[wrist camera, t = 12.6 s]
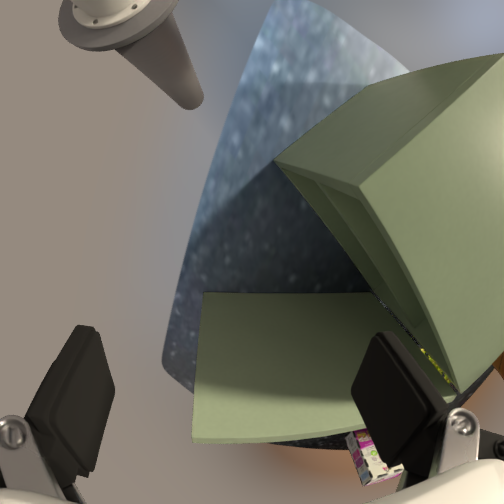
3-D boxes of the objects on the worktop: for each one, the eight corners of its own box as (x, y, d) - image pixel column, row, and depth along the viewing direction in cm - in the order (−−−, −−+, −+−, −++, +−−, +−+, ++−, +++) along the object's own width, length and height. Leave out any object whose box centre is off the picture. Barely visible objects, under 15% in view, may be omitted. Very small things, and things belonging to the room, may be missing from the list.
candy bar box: (343, 438, 60) (361, 487, 45) (351, 428, 59) (371, 478, 43) (377, 433, 62) (397, 477, 47) (385, 422, 60) (408, 468, 45)
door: (359, 332, 47) (425, 438, 24) (204, 336, 44) (198, 475, 21) (370, 292, 44) (457, 394, 21) (203, 291, 41) (191, 437, 18)
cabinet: (373, 291, 44) (460, 394, 21) (272, 159, 35) (357, 186, 13) (446, 222, 41) (554, 282, 18) (369, 84, 32) (506, 52, 10)
